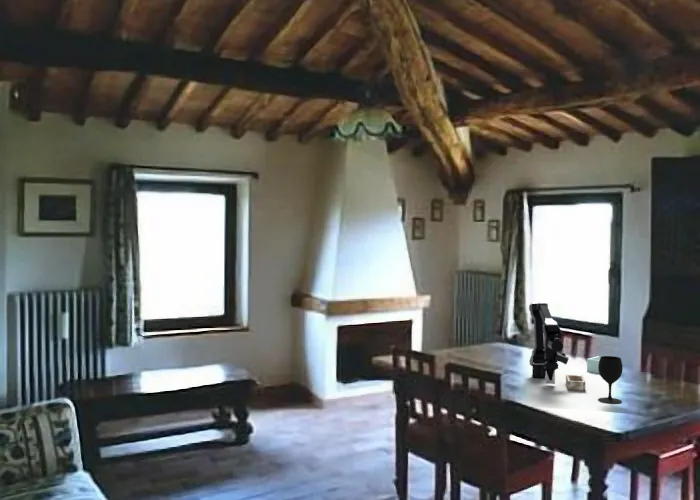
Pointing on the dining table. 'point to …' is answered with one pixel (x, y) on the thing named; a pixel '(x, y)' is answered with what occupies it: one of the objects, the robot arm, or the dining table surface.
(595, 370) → the l-shaped corner panel
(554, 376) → the light grey rectangular block
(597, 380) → the dining table surface
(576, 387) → the beige tray
